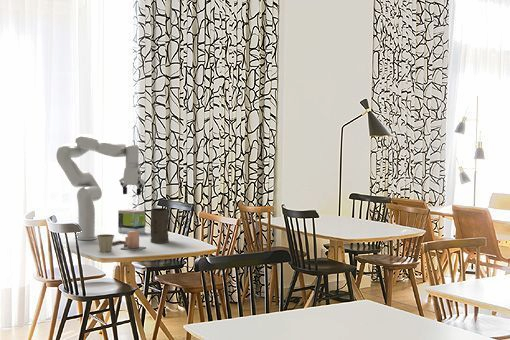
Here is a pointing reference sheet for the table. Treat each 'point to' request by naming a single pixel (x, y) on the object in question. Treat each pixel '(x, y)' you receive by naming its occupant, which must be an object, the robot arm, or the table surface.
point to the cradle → (119, 243)
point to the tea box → (131, 220)
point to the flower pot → (105, 242)
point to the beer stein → (159, 225)
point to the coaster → (133, 248)
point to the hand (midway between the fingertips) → (131, 194)
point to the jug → (132, 239)
